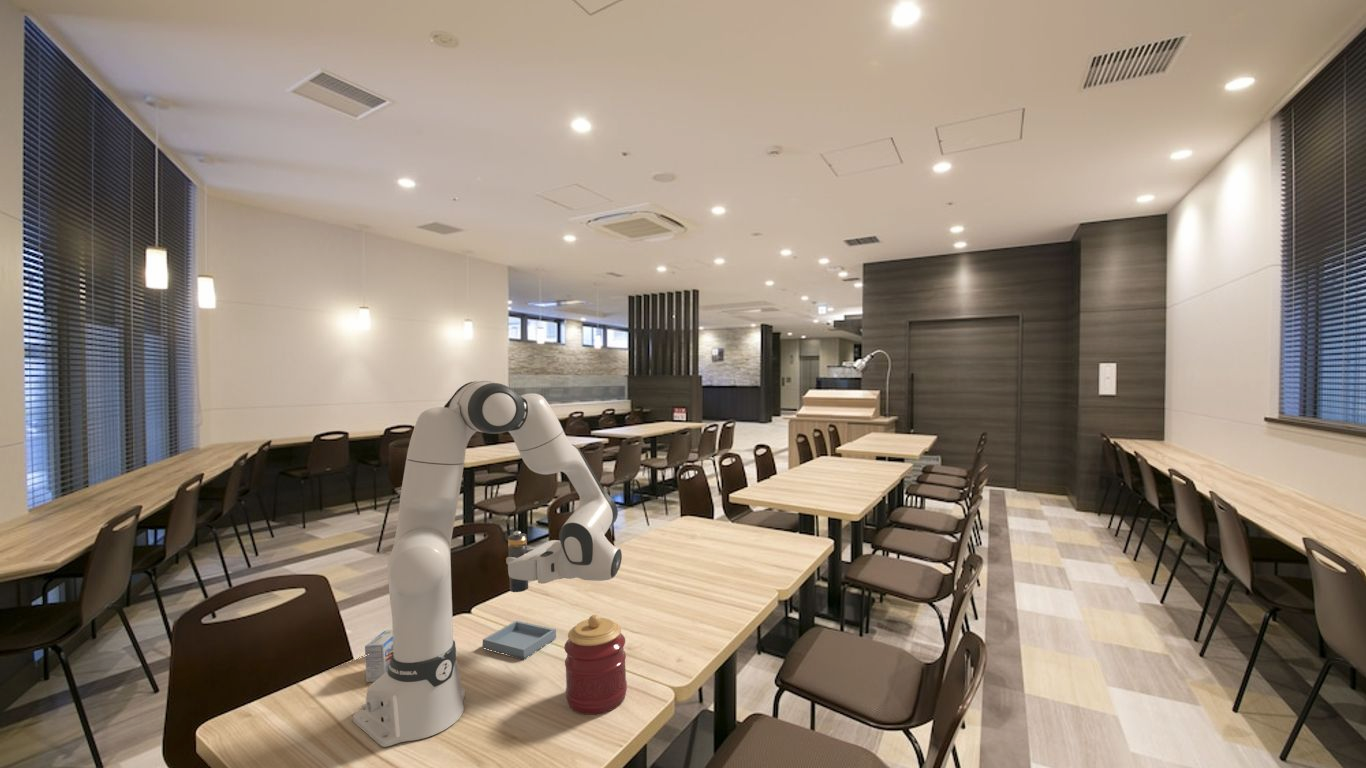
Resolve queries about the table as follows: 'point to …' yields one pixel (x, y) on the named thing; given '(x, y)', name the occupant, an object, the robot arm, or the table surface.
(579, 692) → the canister
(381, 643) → the medicine box
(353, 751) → the table surface
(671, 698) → the table surface
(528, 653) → the tray
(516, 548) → the battery cell
